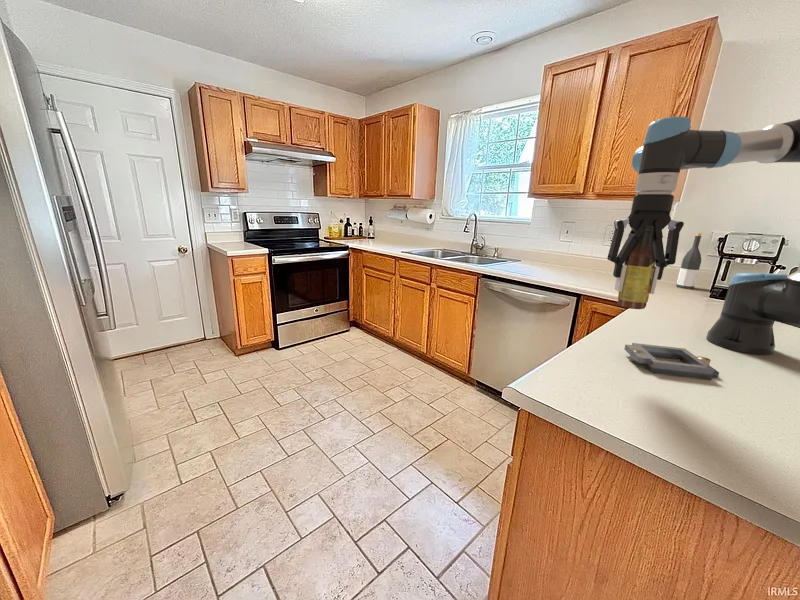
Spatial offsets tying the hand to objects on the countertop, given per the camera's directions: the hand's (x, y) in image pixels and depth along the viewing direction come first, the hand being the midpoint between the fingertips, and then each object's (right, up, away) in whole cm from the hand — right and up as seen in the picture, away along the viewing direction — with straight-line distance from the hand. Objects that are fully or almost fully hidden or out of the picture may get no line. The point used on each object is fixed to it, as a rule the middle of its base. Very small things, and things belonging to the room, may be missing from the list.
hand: (633, 291), depth 83 cm
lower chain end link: (+15, -20, +7) cm, 26 cm away
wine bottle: (+102, +5, +105) cm, 146 cm away
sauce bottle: (0, -4, +1) cm, 4 cm away
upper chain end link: (+13, -20, +7) cm, 24 cm away
